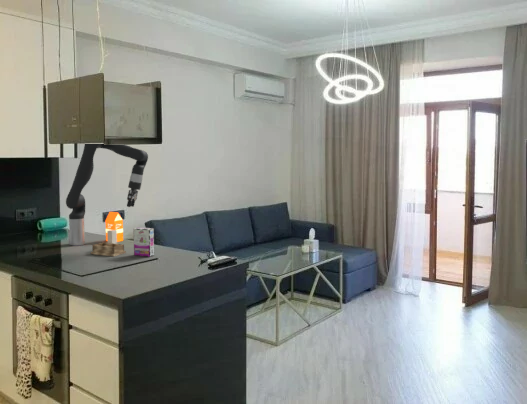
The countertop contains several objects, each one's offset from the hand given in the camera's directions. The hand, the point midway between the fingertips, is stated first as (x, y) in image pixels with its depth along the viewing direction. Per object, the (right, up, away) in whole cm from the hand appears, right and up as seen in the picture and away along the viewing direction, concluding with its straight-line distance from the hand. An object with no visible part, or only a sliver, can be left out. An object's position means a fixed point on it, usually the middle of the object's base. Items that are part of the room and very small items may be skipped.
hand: (130, 206), depth 303 cm
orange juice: (-18, -24, +28) cm, 41 cm away
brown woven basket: (-10, -28, -12) cm, 32 cm away
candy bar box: (+13, -29, -17) cm, 36 cm away
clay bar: (-11, -27, 0) cm, 29 cm away
